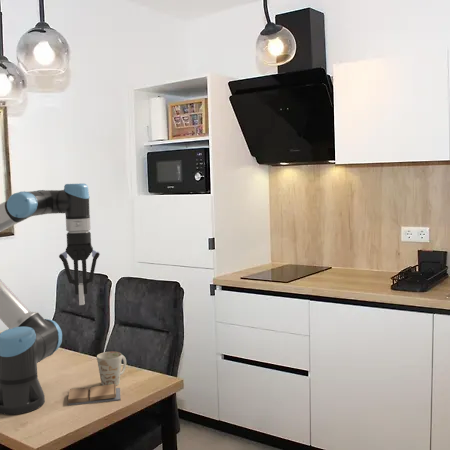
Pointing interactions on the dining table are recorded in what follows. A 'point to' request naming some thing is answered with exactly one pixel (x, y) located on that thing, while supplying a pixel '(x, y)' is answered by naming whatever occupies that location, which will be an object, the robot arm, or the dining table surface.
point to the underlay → (101, 399)
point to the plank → (103, 392)
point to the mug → (110, 367)
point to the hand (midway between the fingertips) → (81, 304)
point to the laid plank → (79, 395)
